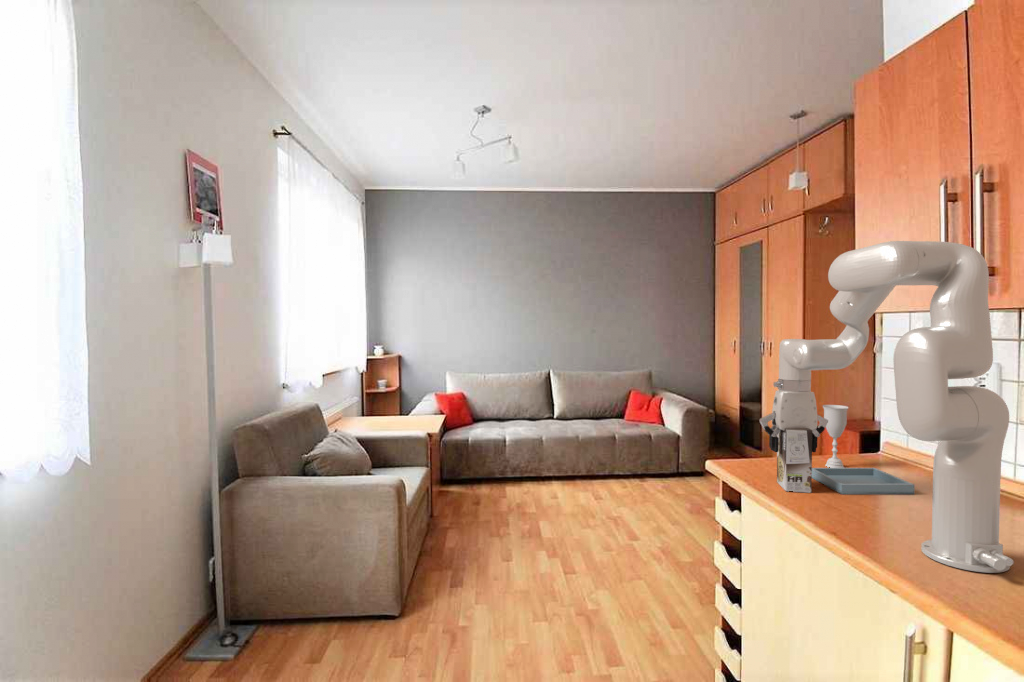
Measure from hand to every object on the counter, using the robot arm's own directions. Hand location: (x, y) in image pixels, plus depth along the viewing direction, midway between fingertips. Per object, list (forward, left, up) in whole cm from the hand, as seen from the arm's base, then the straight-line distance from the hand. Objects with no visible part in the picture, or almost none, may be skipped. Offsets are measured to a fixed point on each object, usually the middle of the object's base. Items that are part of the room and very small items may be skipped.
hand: (792, 451), depth 146 cm
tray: (+2, -18, -10) cm, 20 cm away
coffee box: (0, 0, -10) cm, 10 cm away
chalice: (+21, -22, -10) cm, 32 cm away
